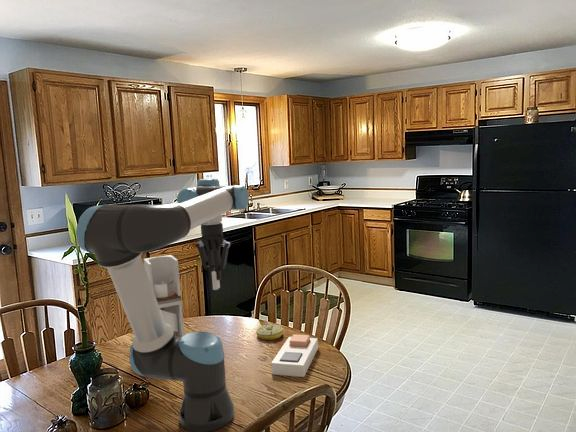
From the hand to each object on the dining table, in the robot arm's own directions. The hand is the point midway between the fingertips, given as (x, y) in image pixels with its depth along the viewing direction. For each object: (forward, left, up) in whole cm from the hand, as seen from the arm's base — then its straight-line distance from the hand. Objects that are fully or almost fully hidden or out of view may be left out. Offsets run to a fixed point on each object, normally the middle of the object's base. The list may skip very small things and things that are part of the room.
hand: (216, 288), depth 162 cm
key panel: (+3, -27, -26) cm, 38 cm away
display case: (+7, +26, -27) cm, 38 cm away
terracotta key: (+9, -27, -23) cm, 37 cm away
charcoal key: (-3, -27, -25) cm, 37 cm away
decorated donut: (+23, -11, -27) cm, 37 cm away
